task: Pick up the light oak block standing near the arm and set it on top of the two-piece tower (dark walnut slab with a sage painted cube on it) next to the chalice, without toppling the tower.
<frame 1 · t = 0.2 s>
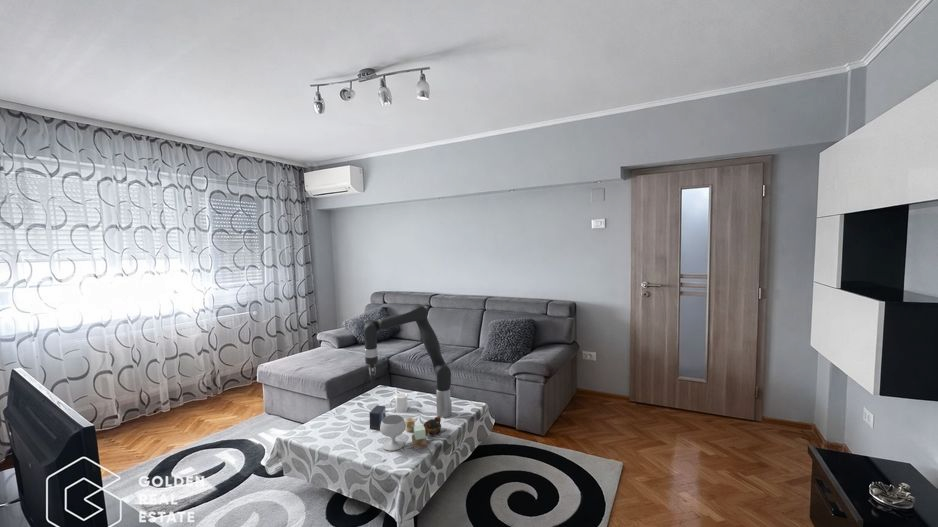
hand: (372, 381, 236), 29 cm above the table, fingers open, 8 cm apart
tower cube: (419, 436, 215), point 5 cm above the table
small box: (378, 425, 239), on the table
mug: (398, 410, 260), on the table
tower slab: (419, 445, 216), on the table
decorative turtle: (432, 433, 229), on the table
oak block: (410, 429, 233), on the table
chalice: (393, 445, 216), on the table
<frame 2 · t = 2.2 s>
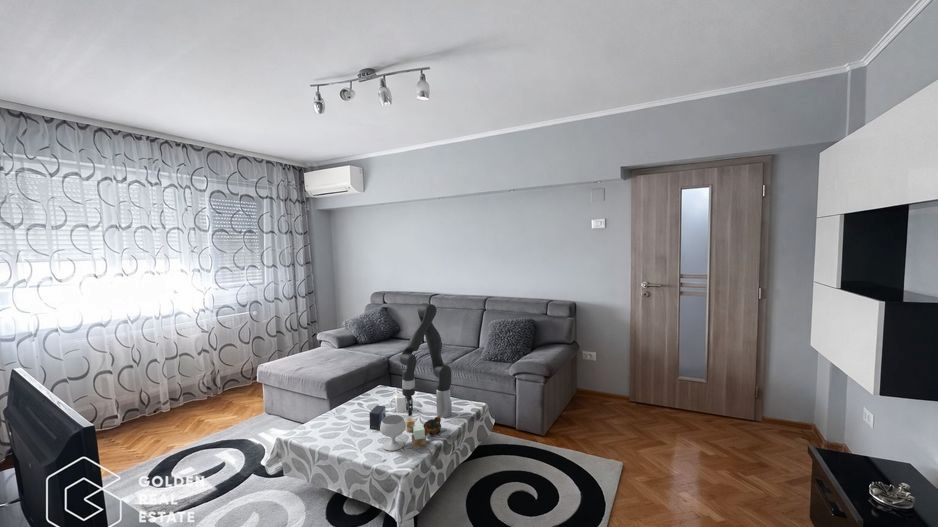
hand: (409, 412, 233), 10 cm above the table, fingers open, 8 cm apart
nothing on the table moved.
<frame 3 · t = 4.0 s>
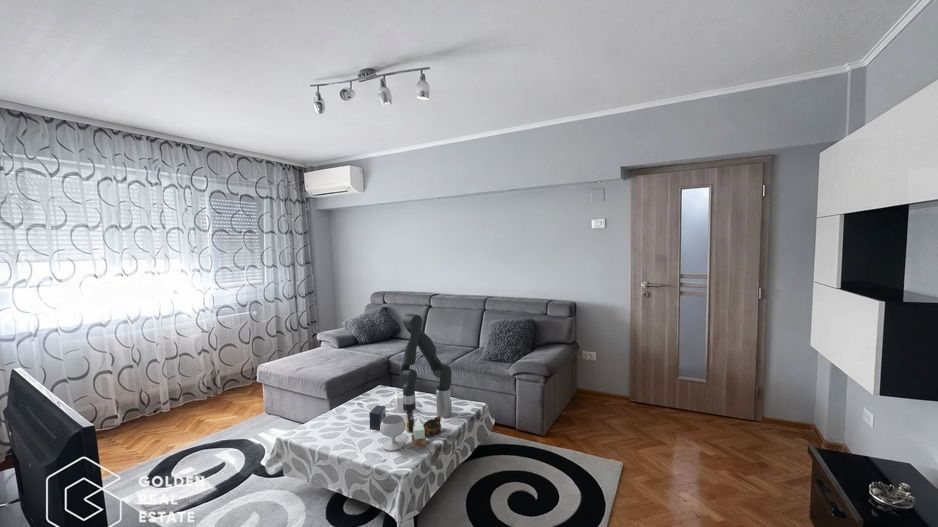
hand: (410, 428, 233), 1 cm above the table, fingers closed on oak block, 4 cm apart
tower cube: (418, 436, 216), point 5 cm above the table, touching tower slab
tower slab: (419, 445, 216), on the table, touching tower cube
oak block: (410, 429, 233), on the table, touching gripper
everything else where it was.
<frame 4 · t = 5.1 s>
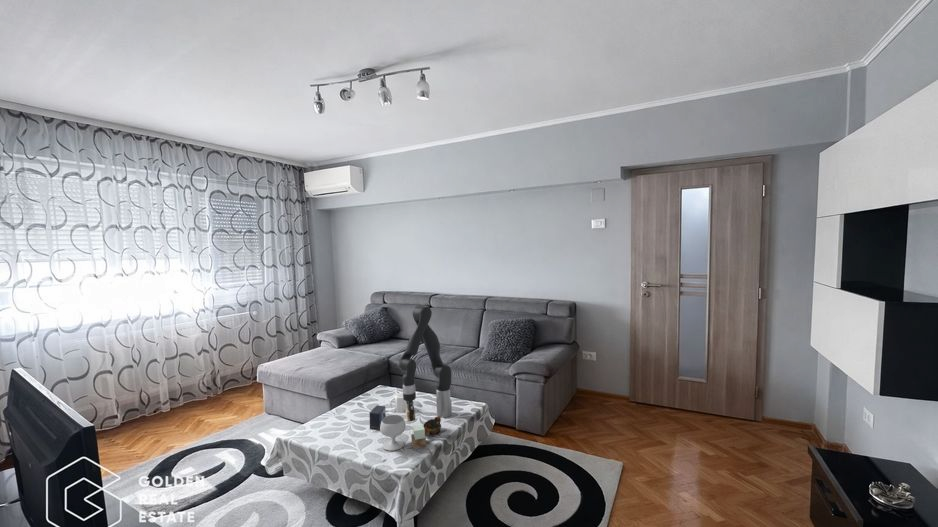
hand: (410, 418, 233), 7 cm above the table, fingers closed on oak block, 4 cm apart
oak block: (410, 419, 233), point 6 cm above the table, touching gripper
everything else where it was.
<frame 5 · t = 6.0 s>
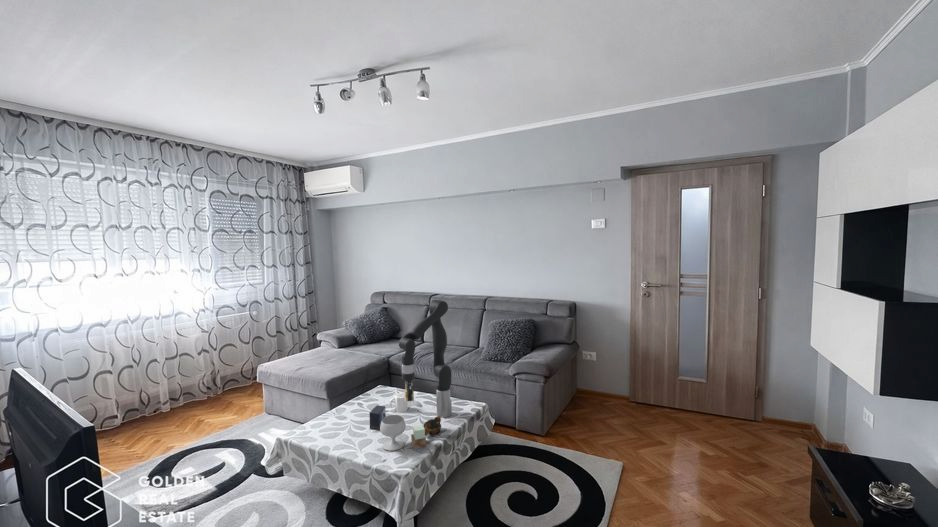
hand: (409, 398, 232), 19 cm above the table, fingers closed on oak block, 4 cm apart
oak block: (409, 399, 232), point 18 cm above the table, touching gripper
everything else where it was.
when the fingers open (11 cm above the table, at t = 9.4 s): oak block stays where it is, resting on tower cube.
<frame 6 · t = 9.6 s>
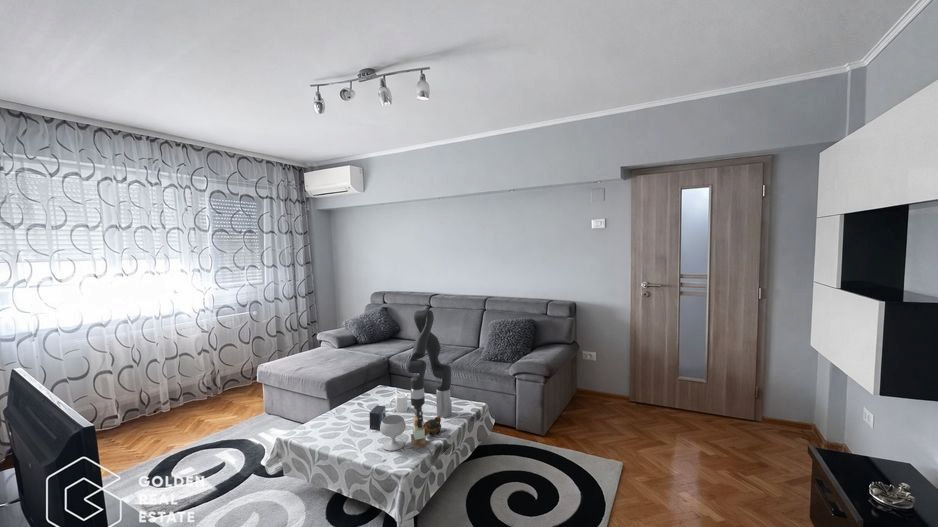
hand: (418, 424, 215), 12 cm above the table, fingers open, 6 cm apart
tower cube: (418, 436, 216), point 5 cm above the table, touching oak block
tower slab: (418, 444, 216), on the table
oak block: (418, 427, 215), point 10 cm above the table, touching tower cube
everything else where it was.
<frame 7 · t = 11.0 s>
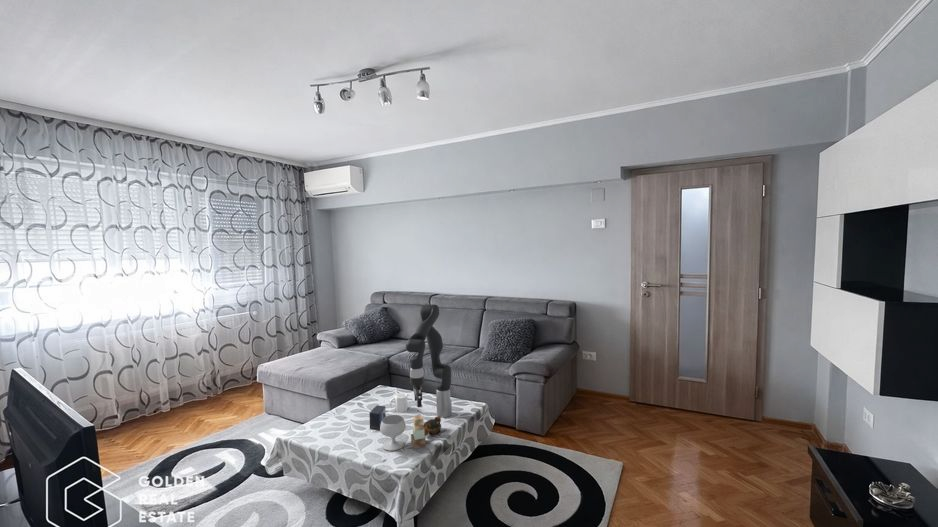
hand: (418, 403, 214), 24 cm above the table, fingers open, 8 cm apart
tower cube: (418, 436, 216), point 5 cm above the table, touching oak block, tower slab
tower slab: (418, 444, 216), on the table, touching tower cube
everything else where it was.
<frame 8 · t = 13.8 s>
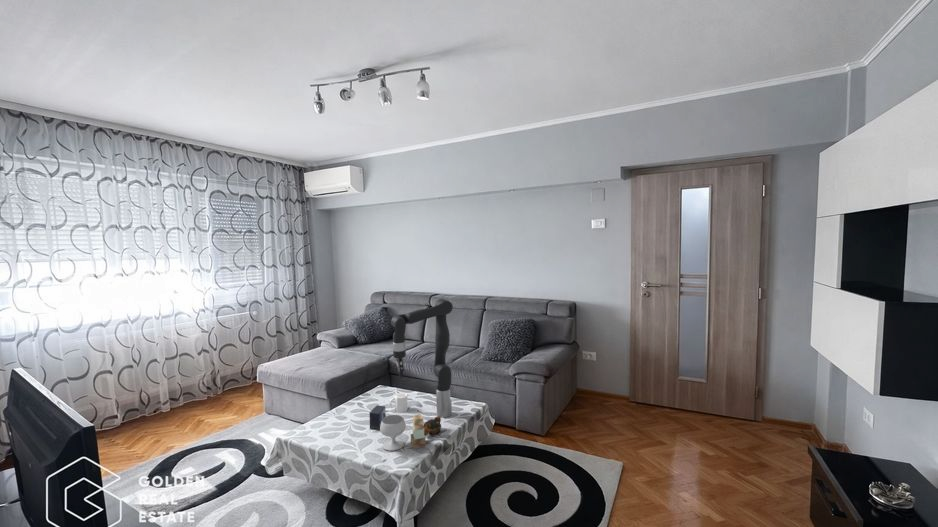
hand: (400, 375, 236), 32 cm above the table, fingers open, 8 cm apart
tower cube: (418, 436, 216), point 5 cm above the table, touching oak block
tower slab: (418, 444, 217), on the table
everything else where it was.
at the end: oak block 0.1 cm off-centre on the tower cube, point 5.0 cm above the tower cube's base; oak block tilted 1°; tower cube moved 0.4 cm from its start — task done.
